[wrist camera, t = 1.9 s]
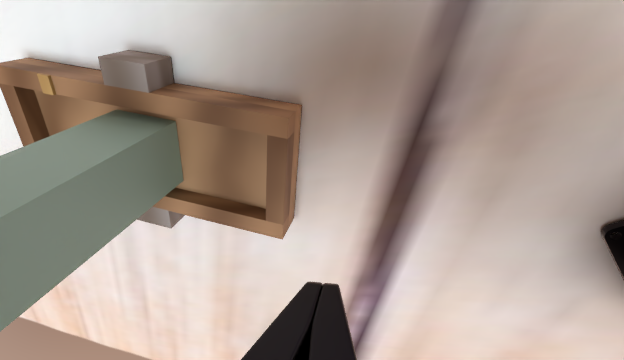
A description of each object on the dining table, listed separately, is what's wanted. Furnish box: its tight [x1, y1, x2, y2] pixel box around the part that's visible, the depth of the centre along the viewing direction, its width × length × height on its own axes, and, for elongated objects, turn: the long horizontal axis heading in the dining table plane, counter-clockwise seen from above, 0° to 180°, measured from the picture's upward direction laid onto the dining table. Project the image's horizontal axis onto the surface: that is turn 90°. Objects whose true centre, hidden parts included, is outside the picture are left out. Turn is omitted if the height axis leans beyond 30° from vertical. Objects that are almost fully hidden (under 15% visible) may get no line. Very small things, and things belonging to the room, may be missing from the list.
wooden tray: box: [0, 50, 302, 239], centre depth 23 cm, size 20×12×3 cm, turn 85°
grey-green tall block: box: [0, 110, 184, 331], centre depth 17 cm, size 4×4×13 cm
